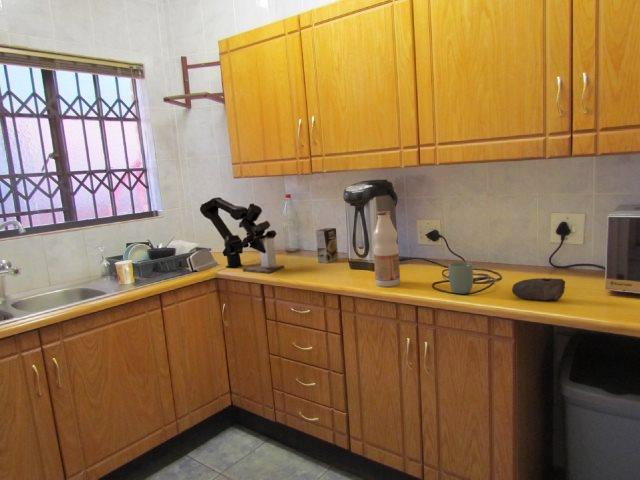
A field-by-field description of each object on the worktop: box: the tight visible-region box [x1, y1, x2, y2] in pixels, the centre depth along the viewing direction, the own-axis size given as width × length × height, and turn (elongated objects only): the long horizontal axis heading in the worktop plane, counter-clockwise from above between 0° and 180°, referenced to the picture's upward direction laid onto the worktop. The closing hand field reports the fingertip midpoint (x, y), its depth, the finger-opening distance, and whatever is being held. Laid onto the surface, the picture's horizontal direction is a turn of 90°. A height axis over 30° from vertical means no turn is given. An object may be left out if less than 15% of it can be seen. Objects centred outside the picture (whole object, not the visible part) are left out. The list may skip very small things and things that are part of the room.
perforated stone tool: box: [511, 277, 566, 302], centre depth 140 cm, size 15×5×7 cm, turn 61°
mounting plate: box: [242, 263, 285, 275], centre depth 216 cm, size 16×12×1 cm
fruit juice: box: [372, 210, 401, 288], centre depth 170 cm, size 9×9×28 cm
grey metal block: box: [186, 250, 219, 272], centre depth 232 cm, size 17×5×10 cm, turn 155°
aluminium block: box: [259, 237, 277, 267], centre depth 212 cm, size 5×5×13 cm
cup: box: [448, 261, 474, 295], centre depth 153 cm, size 8×8×10 cm
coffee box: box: [315, 227, 339, 264], centre depth 223 cm, size 9×6×16 cm
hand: (269, 251), depth 211 cm, fingers closed on aluminium block, 5 cm apart
